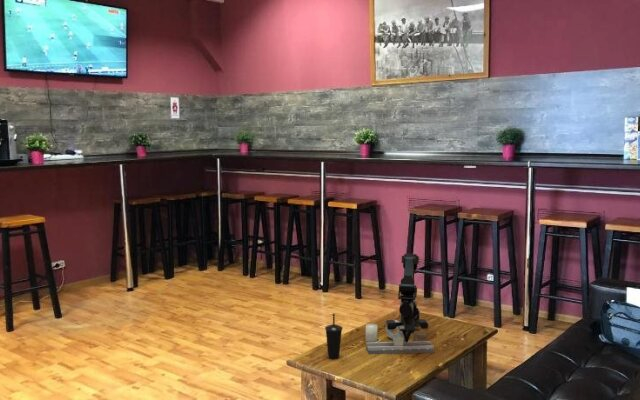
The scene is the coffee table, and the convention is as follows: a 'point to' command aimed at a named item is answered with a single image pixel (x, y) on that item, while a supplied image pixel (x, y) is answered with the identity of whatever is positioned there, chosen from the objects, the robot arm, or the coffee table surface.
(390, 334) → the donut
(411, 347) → the rail
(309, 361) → the coffee table surface
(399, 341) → the tally marker
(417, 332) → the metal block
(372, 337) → the white rounded cylinder
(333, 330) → the drinking cup
